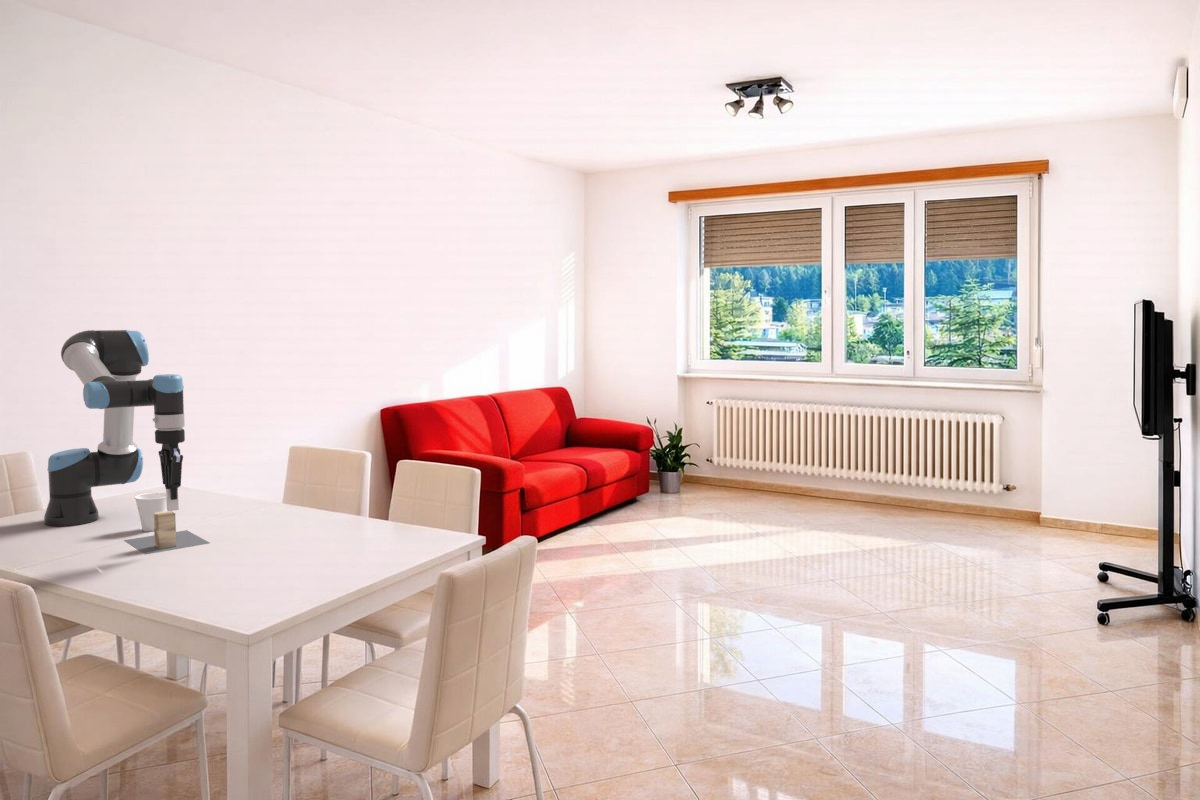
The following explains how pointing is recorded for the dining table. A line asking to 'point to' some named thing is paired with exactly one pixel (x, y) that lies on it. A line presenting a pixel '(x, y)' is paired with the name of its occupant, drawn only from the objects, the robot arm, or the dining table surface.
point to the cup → (150, 508)
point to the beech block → (165, 529)
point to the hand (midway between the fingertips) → (172, 510)
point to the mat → (182, 541)
